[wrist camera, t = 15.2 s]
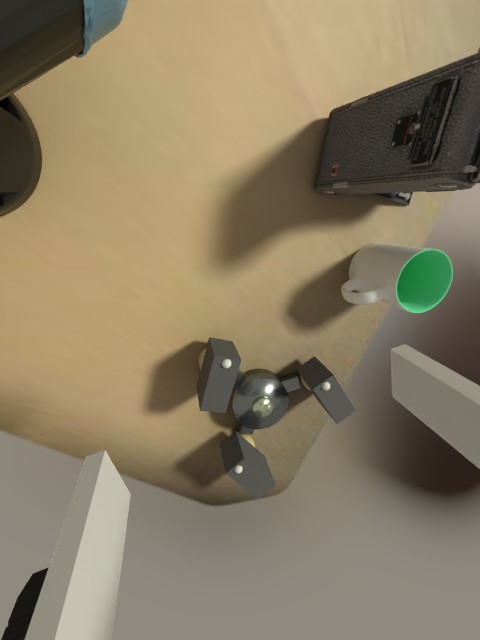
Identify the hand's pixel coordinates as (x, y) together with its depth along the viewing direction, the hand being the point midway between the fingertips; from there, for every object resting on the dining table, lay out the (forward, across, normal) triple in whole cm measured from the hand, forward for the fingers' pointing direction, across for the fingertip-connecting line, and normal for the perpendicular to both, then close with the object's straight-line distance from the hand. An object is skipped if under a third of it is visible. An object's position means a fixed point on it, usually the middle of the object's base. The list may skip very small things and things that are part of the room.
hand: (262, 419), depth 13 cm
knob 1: (+29, -1, -30) cm, 42 cm away
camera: (+30, +28, +9) cm, 42 cm away
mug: (+30, +24, -7) cm, 39 cm away
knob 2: (+29, +14, -21) cm, 39 cm away
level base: (+29, +3, -22) cm, 37 cm away
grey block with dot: (+30, -2, -13) cm, 32 cm away
